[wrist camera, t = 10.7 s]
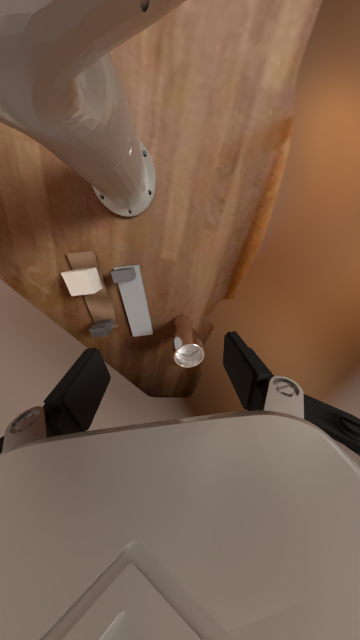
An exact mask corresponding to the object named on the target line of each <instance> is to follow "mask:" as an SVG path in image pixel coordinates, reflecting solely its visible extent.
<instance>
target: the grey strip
mask: <svg viewBox="0 0 360 640" xmlns="http://www.w3.org/2000/svg"><path fill="white" fill-rule="evenodd" d="M111 275H112V278H113V281H114V283H118V286H119V289H120V293H121V296H122V299H123V303H124V306H125V310H126V313H127V317H128V320H129V324H130V327H131V331H132V334H133V337H135V336H143V335H152V334H153V330H152V325H151V320H150V315H149V311H148V306H147V301H146V296H145V291H144V286H143V282H142V277H141V272H140V267H139V265H132V266H122V267H114V271H111Z"/></svg>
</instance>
